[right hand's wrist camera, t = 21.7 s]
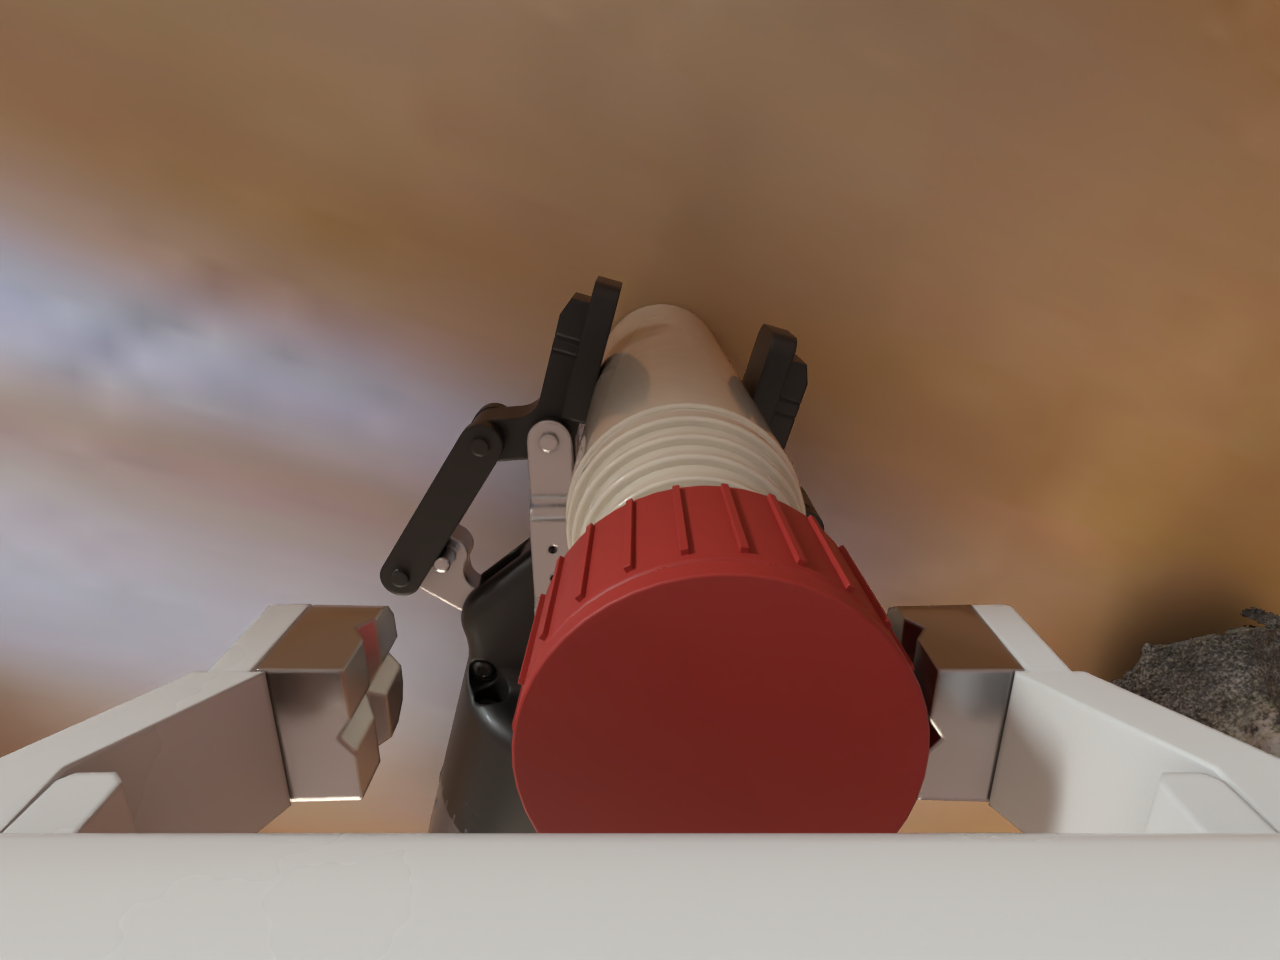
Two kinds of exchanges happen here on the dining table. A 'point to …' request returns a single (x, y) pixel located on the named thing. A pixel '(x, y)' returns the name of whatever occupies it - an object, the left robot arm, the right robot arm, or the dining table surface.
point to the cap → (715, 679)
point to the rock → (1219, 680)
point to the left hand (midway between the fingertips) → (693, 309)
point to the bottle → (670, 422)
